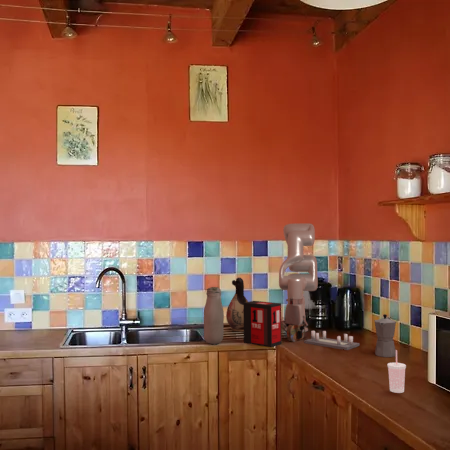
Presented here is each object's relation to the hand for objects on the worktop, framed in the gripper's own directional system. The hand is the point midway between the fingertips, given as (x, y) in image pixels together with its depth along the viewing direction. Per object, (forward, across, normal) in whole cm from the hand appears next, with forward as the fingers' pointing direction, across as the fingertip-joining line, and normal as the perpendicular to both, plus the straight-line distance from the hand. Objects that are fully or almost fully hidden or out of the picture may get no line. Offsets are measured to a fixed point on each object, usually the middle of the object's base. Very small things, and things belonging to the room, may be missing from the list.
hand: (295, 337), depth 261 cm
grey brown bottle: (+2, -26, -33) cm, 42 cm away
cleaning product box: (+2, -8, -17) cm, 19 cm away
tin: (+2, 0, 0) cm, 2 cm away
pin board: (+1, +19, +3) cm, 19 cm away
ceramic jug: (+2, -38, +1) cm, 38 cm away
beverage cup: (+2, +74, -46) cm, 87 cm away
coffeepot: (+2, +48, +1) cm, 48 cm away
